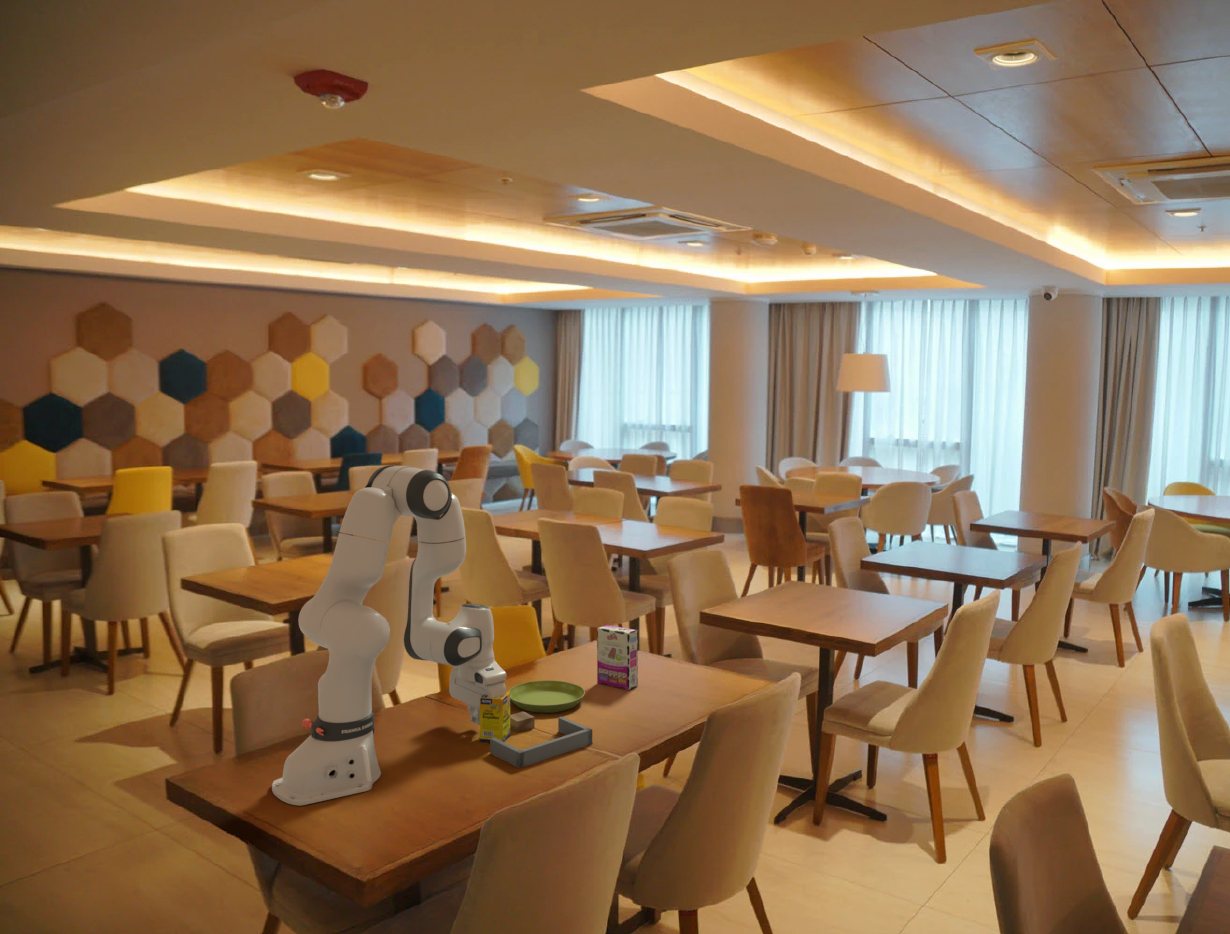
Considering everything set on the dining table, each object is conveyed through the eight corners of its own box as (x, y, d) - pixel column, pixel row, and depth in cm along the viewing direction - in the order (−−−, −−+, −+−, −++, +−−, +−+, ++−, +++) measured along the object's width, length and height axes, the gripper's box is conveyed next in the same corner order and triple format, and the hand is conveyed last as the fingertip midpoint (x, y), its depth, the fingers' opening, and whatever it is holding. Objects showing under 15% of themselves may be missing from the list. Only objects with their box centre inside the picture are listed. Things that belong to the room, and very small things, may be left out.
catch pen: (519, 768, 208) (519, 753, 208) (490, 753, 217) (490, 738, 217) (592, 743, 223) (592, 729, 222) (562, 730, 231) (562, 716, 231)
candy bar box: (638, 686, 265) (638, 629, 264) (628, 691, 261) (628, 633, 260) (606, 679, 271) (606, 623, 270) (596, 683, 267) (596, 627, 266)
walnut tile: (517, 733, 230) (517, 721, 230) (506, 727, 234) (506, 715, 234) (534, 728, 233) (534, 717, 233) (523, 722, 237) (523, 711, 237)
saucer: (555, 722, 238) (555, 710, 237) (492, 707, 248) (491, 695, 248) (599, 699, 255) (599, 687, 255) (538, 686, 266) (538, 675, 266)
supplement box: (503, 744, 223) (503, 699, 222) (479, 742, 224) (478, 697, 223) (511, 734, 228) (510, 691, 227) (487, 733, 230) (487, 689, 229)
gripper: (442, 661, 236) (443, 714, 237) (489, 680, 221) (489, 737, 222) (463, 656, 240) (464, 709, 242) (510, 675, 225) (511, 730, 226)
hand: (477, 722), depth 232 cm, fingers closed
